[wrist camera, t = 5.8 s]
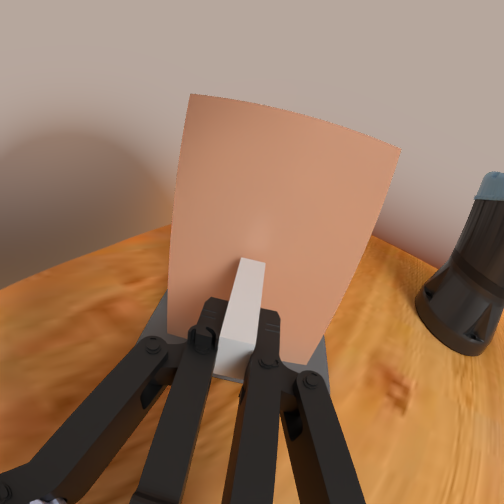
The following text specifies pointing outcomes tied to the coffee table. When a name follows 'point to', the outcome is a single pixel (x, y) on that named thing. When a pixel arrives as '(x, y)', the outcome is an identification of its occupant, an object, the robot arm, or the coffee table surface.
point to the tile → (272, 213)
